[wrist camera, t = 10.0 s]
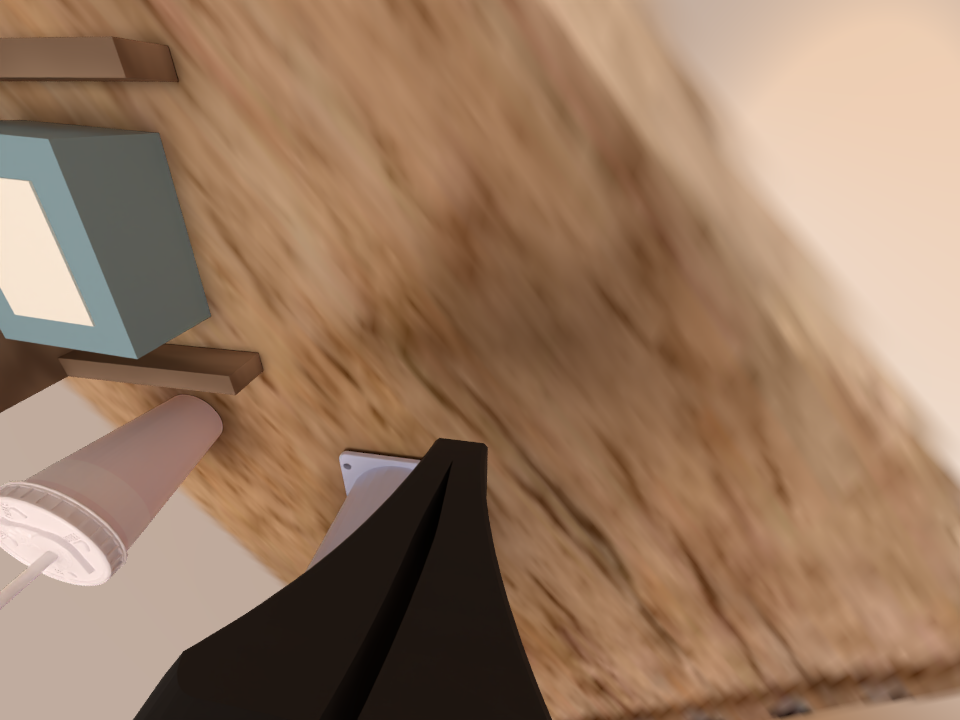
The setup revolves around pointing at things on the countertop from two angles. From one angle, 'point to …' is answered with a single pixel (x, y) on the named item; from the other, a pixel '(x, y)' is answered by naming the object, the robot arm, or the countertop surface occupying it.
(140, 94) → the countertop surface
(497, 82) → the countertop surface
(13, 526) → the smoothie
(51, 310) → the carton
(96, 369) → the display stand
